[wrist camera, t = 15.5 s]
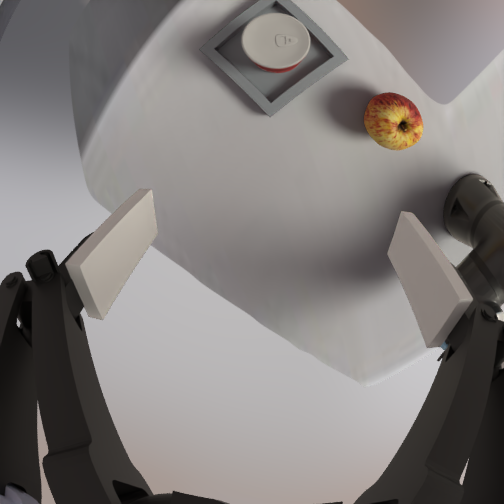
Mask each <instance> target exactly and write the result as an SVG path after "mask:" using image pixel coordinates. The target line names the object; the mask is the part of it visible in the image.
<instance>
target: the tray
mask: <svg viewBox="0 0 504 504" xmlns="http://www.w3.org/2000/svg"><path fill="white" fill-rule="evenodd" d="M268 13H282V14H286V15H289V16H292V17H294V18H296V19H297V20H299V21H300V22H301V23H302V24H303V25H304V26H305V27H306V29H307V31H308V33H309V35H310V48H309V51H308V53H307V55H306V56H305V58H304V59H303V60H302V61H301V62H300V63H299V64H298V65H297V66H296V67H295V68H294V69H292V70H290V71H287V72H284V73H271V72H267V71H265V70H263V69H261V68H259V67H258V66H257V65H256V64H255V63H254V62H253V61H251V60H250V59H249V57H248V56H247V55H246V53H245V52H244V50H243V47H242V34H243V31H244V29H245V27H246V26H247V25H248V23H249V22H250V21H252V20H253V19H254V18H256V17H258V16H260V15H264V14H268ZM199 50H200V51H201V52H202V53H204V54H205V55H206V56H207V57H208V58H209V59H210V60H212V61H213V62H214V63H215V64H216V65H217V66H218V67H219V68H221V69H222V70H223V71H224V72H225V73H226V74H227V75H228V76H229V77H230V78H231V79H232V80H233V81H234V82H236V83H237V84H238V85H239V86H240V87H241V88H242V89H243V90H244V91H245V92H246V93H247V94H248V95H249V96H250V97H251V98H252V99H253V100H254V101H255V102H256V103H257V104H258V105H259V106H260V107H261V108H262V109H263V110H264V111H265V113H266V114H267V115H268V116H269V117H271V116H272V115H274V114H275V113H276V112H277V111H279V110H280V109H281V108H282V107H284V106H285V105H286V104H287V103H289V102H290V101H291V100H293V99H294V98H295V97H296V96H298V95H299V94H300V93H302V92H303V91H304V90H306V89H307V88H308V87H310V86H311V85H312V84H314V83H315V82H317V81H318V80H319V79H321V78H322V77H324V76H325V75H326V74H328V73H329V72H331V71H332V70H334V69H335V68H336V67H338V66H339V65H341V64H342V63H344V62H345V61H347V60H348V58H347V56H346V55H345V54H344V53H343V52H342V51H341V49H340V48H339V47H338V46H337V45H336V44H335V43H334V42H333V41H332V40H331V38H330V37H329V36H328V35H327V34H326V33H325V32H324V31H323V30H322V29H321V28H320V27H319V26H318V25H317V24H316V23H315V22H314V21H313V20H312V19H311V18H310V17H309V16H308V15H306V14H305V13H304V12H303V11H302V10H301V9H300V8H299V7H298V6H297V5H295V4H294V3H293V2H292V1H291V0H259V1H258V2H256V3H255V4H254V5H252V6H251V7H249V8H248V9H247V10H245V11H244V12H243V13H241V14H240V15H239V16H238V17H236V18H235V19H234V20H233V21H231V22H230V23H229V24H228V25H226V26H225V27H224V28H223V29H222V30H220V31H219V32H218V33H217V34H216V35H215V36H214V37H212V38H211V39H210V40H209V41H208V42H207V43H206V44H205V45H204V46H202V47H201V48H200V49H199Z"/></svg>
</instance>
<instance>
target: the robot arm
mask: <svg viewBox="0 0 504 504" xmlns="http://www.w3.org/2000/svg"><path fill="white" fill-rule="evenodd" d="M444 222H445V226H446V228H447V230H448V231H449V232H450V233H451V235H452V236H453V237H454V238H455V239H456V240H458V241H460V242H462V243H464V244H466V245H468V246H470V247H472V248H473V250H472V251H471V252H470V253H469V254H468V255H467V256H466V257H465V259H464V260H463V261H462V262H461V263H460V264H459V265H458V266H457V267H455V266H454V265H453V264H451V263H450V262H449V260H448V259H447V257H446V256H445V254H444V253H443V252H442V250H441V249H440V247H439V246H438V245H437V243H436V242H435V241H434V239H433V238H432V237H431V235H430V234H429V233H428V231H427V230H426V229H425V228H424V226H423V225H422V224H421V222H420V221H419V220H418V219H417V218H416V216H415V215H414V214H413V213H410V212H404V211H401V213H400V216H399V220H398V223H397V226H396V229H395V232H394V235H393V238H392V241H391V244H390V247H389V250H388V253H387V255H388V257H389V259H390V261H391V263H392V265H393V267H394V269H395V271H396V273H397V275H398V278H399V280H400V282H401V284H402V286H403V289H404V291H405V293H406V295H407V298H408V300H409V303H410V305H411V307H412V310H413V312H414V315H415V317H416V320H417V322H418V325H419V327H420V330H421V333H422V335H423V338H424V341H425V344H426V347H427V348H432V347H441V348H442V349H443V350H445V351H444V352H443V353H442V354H441V356H440V357H439V358H438V360H437V361H440V360H441V358H443V359H442V362H441V364H440V367H439V369H438V372H437V375H436V377H435V379H434V382H433V384H432V386H431V389H430V391H429V394H428V396H427V398H426V400H425V402H424V404H423V406H422V408H421V410H420V412H419V414H418V416H417V418H416V420H415V422H414V424H413V426H412V427H411V429H410V431H409V433H408V435H407V436H406V438H405V440H404V441H403V443H402V445H401V447H400V448H399V450H398V451H397V453H396V455H395V456H394V458H393V459H392V461H391V462H390V464H389V465H388V467H387V468H386V470H385V471H384V472H383V474H382V475H381V477H380V478H379V480H378V481H377V482H376V483H375V484H374V485H372V486H371V487H370V488H369V489H367V490H366V491H365V492H364V493H363V494H362V495H361V496H360V497H359V498H358V499H357V500H356V501H355V503H354V504H504V313H503V311H502V309H501V308H500V307H501V305H502V304H503V303H504V202H503V201H502V200H501V198H500V196H499V195H498V193H497V191H496V190H495V188H494V186H493V185H492V184H491V183H490V182H489V181H488V180H487V179H485V178H484V177H482V176H480V175H476V174H472V175H468V176H465V177H463V178H462V179H460V180H459V181H458V182H457V183H456V184H455V185H454V186H453V188H452V189H451V191H450V193H449V195H448V197H447V199H446V202H445V206H444ZM157 235H158V230H157V224H156V217H155V210H154V203H153V195H152V189H139V190H138V191H136V192H135V193H134V194H133V195H132V196H131V197H130V198H129V199H128V200H127V201H125V202H124V203H123V204H122V205H121V206H120V207H119V208H118V209H117V210H116V211H115V212H114V213H113V214H112V215H111V216H110V217H109V218H108V219H107V220H106V221H105V222H104V223H103V224H102V225H101V226H100V227H99V228H98V229H97V230H96V231H95V232H93V233H91V234H89V235H88V236H86V237H85V238H84V239H83V240H82V241H81V242H80V243H79V244H78V246H76V247H75V248H74V249H73V251H71V253H70V254H69V255H68V256H67V257H66V258H65V259H64V260H63V261H62V263H61V264H60V265H59V266H58V265H57V262H56V260H55V257H54V254H53V252H52V251H51V250H42V251H39V252H37V253H35V254H34V255H32V256H31V257H30V258H29V259H28V260H27V262H26V268H27V270H28V272H29V274H30V276H31V278H32V280H31V281H25V279H24V277H23V275H22V273H21V272H14V273H10V274H9V275H8V276H6V278H5V279H4V280H3V281H2V283H1V285H0V504H41V499H42V495H41V477H40V467H39V456H38V439H37V401H38V404H39V409H40V415H41V419H42V424H43V429H44V432H45V437H46V441H47V444H48V450H49V451H48V454H47V455H46V456H45V457H44V458H43V463H42V464H43V469H44V473H45V476H46V479H47V482H48V485H49V487H50V490H51V493H52V495H53V498H54V500H55V503H56V504H228V503H226V502H223V501H219V500H215V499H209V498H204V497H198V496H193V495H189V494H184V493H180V492H175V491H173V493H172V494H170V493H169V494H168V493H167V494H157V495H153V493H152V491H151V490H150V488H149V486H148V485H147V483H146V481H145V480H144V478H143V477H142V475H141V474H140V473H139V471H138V470H137V469H136V468H135V467H134V466H133V464H132V463H131V461H130V459H129V457H128V455H127V453H126V451H125V449H124V446H123V444H122V442H121V440H120V437H119V435H118V433H117V430H116V428H115V426H114V423H113V421H112V418H111V415H110V413H109V410H108V407H107V405H106V402H105V399H104V397H103V393H102V390H101V387H100V384H99V381H98V378H97V374H96V371H95V368H94V364H93V360H92V357H91V353H90V349H89V345H88V340H87V336H86V332H85V327H84V322H83V318H82V316H81V314H80V312H81V311H82V309H83V307H84V308H85V310H86V312H87V314H88V316H89V317H92V318H96V319H100V320H103V319H104V318H105V316H106V314H107V313H108V311H109V309H110V307H111V306H112V304H113V302H114V301H115V299H116V297H117V296H118V294H119V293H120V291H121V289H122V288H123V286H124V284H125V283H126V281H127V280H128V278H129V276H130V275H131V273H132V272H133V270H134V269H135V267H136V266H137V264H138V263H139V261H140V259H141V258H142V257H143V255H144V254H145V252H146V251H147V249H148V248H149V246H150V245H151V243H152V242H153V240H154V239H155V238H156V236H157ZM500 301H501V302H500ZM17 318H18V320H19V321H20V323H21V324H20V327H18V326H17V324H16V323H17ZM468 458H469V460H468ZM467 461H468V465H467V469H466V473H465V477H464V481H463V485H461V484H460V482H459V480H460V477H461V475H462V472H463V470H464V468H465V466H466V463H467ZM342 503H343V502H334V503H325V504H342Z"/></svg>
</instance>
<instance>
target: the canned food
mask: <svg viewBox="0 0 504 504" xmlns="http://www.w3.org/2000/svg"><path fill="white" fill-rule="evenodd" d="M242 47H243V50H244V52H245V53H246V55H247V56H248V57H249V59H250V60H251V61H253V62H254V63H255V64H256V65H257V66H258V67H259V68H261V69H263V70H265V71H267V72H271V73H284V72H287V71H290V70H292V69H294V68H295V67H296V66H297V65H298V64H299V63H300V62H301V61H302V60H303V59H304V58H305V56H306V55H307V53H308V51H309V48H310V35H309V33H308V31H307V29H306V27H305V26H304V25H303V24H302V23H301V22H300V21H299V20H297V19H296V18H294V17H292V16H289V15H286V14H282V13H268V14H264V15H260V16H258V17H256V18H254V19H253V20H252V21H250V22H249V23H248V25H247V26H246V27H245V29H244V31H243V34H242Z"/></svg>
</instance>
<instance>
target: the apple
mask: <svg viewBox="0 0 504 504" xmlns="http://www.w3.org/2000/svg"><path fill="white" fill-rule="evenodd" d="M364 124H365V127H366V130H367V132H368V133H369V135H370V136H371V137H372V138H373V139H374V140H375V141H376V142H377V143H378V144H379V145H381V146H383V147H385V148H388V149H391V150H402V149H406V148H408V147H411V146H412V145H414V144H415V143H417V142H418V141H419V139H420V138H421V136H422V132H423V122H422V118H421V115H420V113H419V111H418V109H417V107H416V106H415V105H414V103H413V102H412V101H410V100H409V99H407V98H406V97H404V96H401V95H399V94H396V93H390V92H389V93H383V94H379V95H377V96H375V97H373V98H372V99H371V100H370V102H369V103H368V105H367V108H366V111H365V114H364Z"/></svg>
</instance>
